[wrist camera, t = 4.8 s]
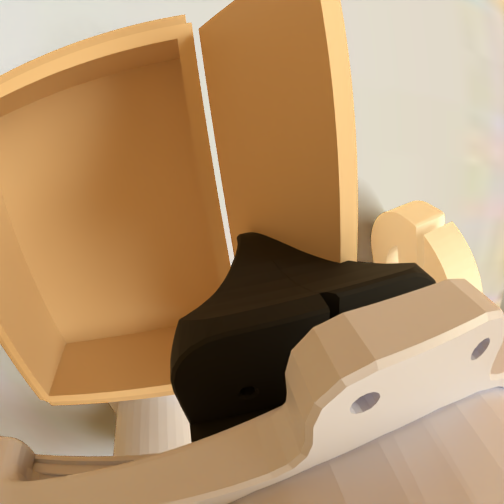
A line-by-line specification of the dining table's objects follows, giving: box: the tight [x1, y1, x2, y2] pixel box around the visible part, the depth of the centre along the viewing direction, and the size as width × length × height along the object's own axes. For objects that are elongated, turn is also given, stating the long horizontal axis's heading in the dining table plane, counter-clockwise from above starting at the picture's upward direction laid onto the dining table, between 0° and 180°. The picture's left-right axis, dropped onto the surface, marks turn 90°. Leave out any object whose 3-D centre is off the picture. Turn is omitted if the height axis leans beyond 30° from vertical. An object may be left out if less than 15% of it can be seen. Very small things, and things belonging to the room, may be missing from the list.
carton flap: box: [199, 0, 358, 263], centre depth 11 cm, size 17×7×1 cm
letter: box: [371, 201, 483, 293], centre depth 22 cm, size 22×2×10 cm, turn 18°
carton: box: [0, 15, 231, 406], centre depth 16 cm, size 19×14×6 cm
